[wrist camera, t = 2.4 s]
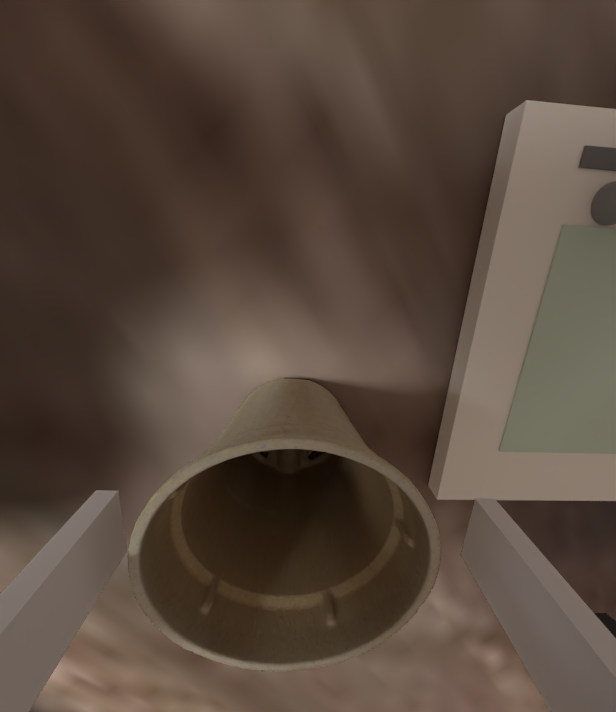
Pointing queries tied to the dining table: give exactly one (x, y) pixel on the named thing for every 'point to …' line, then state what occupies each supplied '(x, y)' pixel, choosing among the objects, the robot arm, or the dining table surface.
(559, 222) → the board
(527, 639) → the robot arm
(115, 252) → the dining table surface
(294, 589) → the flower pot
